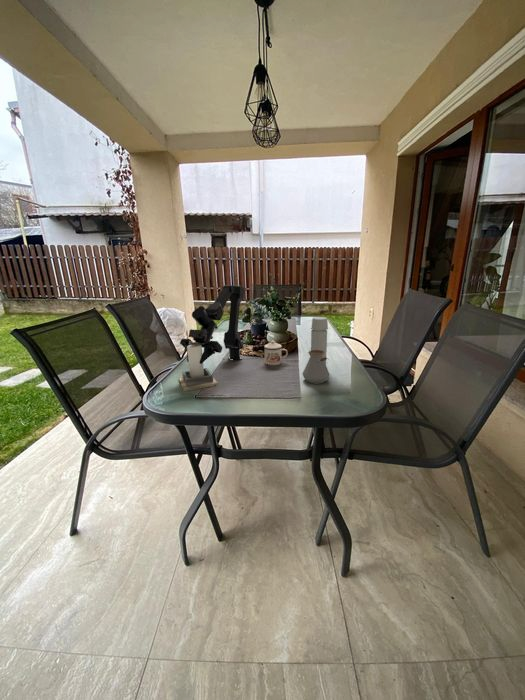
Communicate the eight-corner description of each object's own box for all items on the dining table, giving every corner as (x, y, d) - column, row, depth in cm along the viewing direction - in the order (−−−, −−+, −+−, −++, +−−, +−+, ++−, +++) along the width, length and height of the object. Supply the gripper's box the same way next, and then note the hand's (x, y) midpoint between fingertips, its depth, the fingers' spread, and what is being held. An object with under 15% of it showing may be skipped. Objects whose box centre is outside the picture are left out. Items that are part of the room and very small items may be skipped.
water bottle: (326, 373, 132) (328, 319, 125) (309, 372, 133) (310, 319, 126) (326, 367, 140) (328, 316, 133) (310, 366, 142) (311, 316, 135)
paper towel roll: (191, 374, 128) (188, 344, 124) (205, 374, 128) (202, 343, 124) (188, 379, 122) (185, 348, 118) (203, 379, 122) (200, 347, 118)
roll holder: (179, 379, 129) (178, 371, 128) (209, 374, 134) (209, 366, 133) (184, 391, 117) (183, 382, 116) (217, 385, 122) (217, 376, 121)
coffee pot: (300, 376, 130) (300, 344, 126) (325, 375, 130) (326, 343, 126) (310, 396, 109) (311, 358, 105) (340, 395, 110) (342, 357, 106)
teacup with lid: (264, 366, 144) (264, 343, 141) (264, 360, 153) (263, 339, 150) (288, 365, 144) (288, 342, 141) (286, 359, 153) (286, 338, 150)
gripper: (179, 320, 125) (165, 351, 119) (216, 322, 118) (204, 355, 112) (192, 334, 134) (180, 363, 128) (227, 336, 127) (216, 368, 121)
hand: (194, 362), depth 122 cm, fingers closed on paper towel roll, 6 cm apart
